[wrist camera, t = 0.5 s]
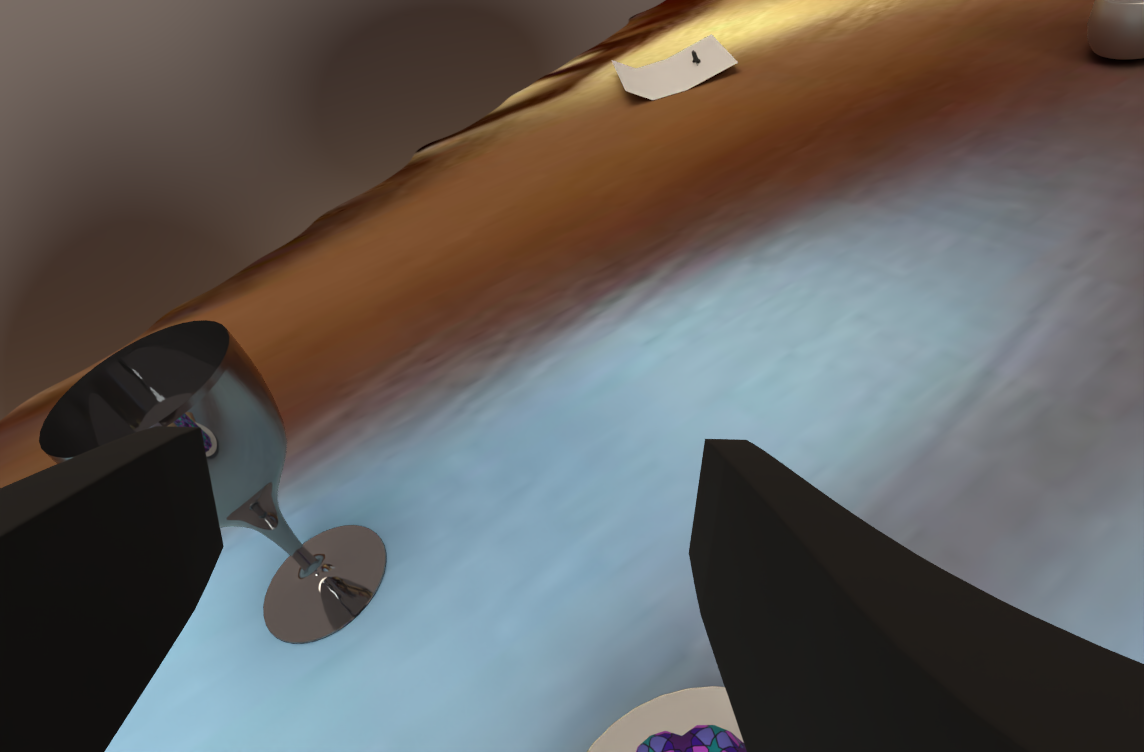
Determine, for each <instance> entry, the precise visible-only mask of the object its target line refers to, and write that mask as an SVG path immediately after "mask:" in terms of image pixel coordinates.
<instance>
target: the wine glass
mask: <svg viewBox="0 0 1144 752" xmlns="http://www.w3.org/2000/svg"><path fill="white" fill-rule="evenodd" d="M155 426H170V427H201V431H202V436H203V442H204V447H205V452H206V457H207V463H208V468H209V473H210V478H211V484H212V489H213V494H214V499H215V504H216V510H217V515H218V520H219V525H220V528H224V527H245V528H249V529H253V530H256V531H258V532H260V533H261V534H263V535H264V536H266V537H267V538H269V539H270V540H272V541H273V542H274V543H276V544H277V545H278V546H280V547H281V548H282V549H283V550H284V551H286V552H287V553H288V554H289V555H290V556H289V557H288V558H287V559H286V560H285V562H284V563H283V564H282V565H281V567H280V568H279V569H278V571H277V572H276V574H275V575H274V577H273V579H272V581H271V583H270V585H269V587H268V590H267V593H266V596H265V601H264V607H263V608H264V619H265V623H266V626H267V628H268V629H269V631H270V633H272V634H273V635H274V636H275V637H276V638H277V639H279V640H281V641H284V642H288V643H293V644H298V643H308V642H313V641H316V640H319V639H322V638H325V637H327V636H329V635H331V634H333V633H334V632H336V631H338V630H340V629H341V628H342V627H344V626H345V625H347V624H348V623H349V622H350V621H352V620H353V619H354V618H355V617H356V616H357V615H358V614H359V613H360V612H361V611H362V610H363V609H364V608H365V607H366V605H367V604H368V603H369V602H370V600H371V599H372V597H373V596H374V594H375V593H376V591H377V589H378V587H379V585H380V583H381V581H382V578H383V575H384V572H385V567H386V550H385V545H384V543H383V541H382V539H381V538H380V537H379V536H378V535H377V533H375V532H374V531H372V530H371V529H369V528H366V527H362V526H356V525H348V526H340V527H336V528H332V529H330V530H327V531H324V532H322V533H320V534H318V535H316V536H314V537H313V538H311V539H310V540H308V541H307V542H305V543H304V544H303V545H302V543H301V542H300V541H299V540H298V538H297V537H296V536H295V534H294V533H293V531H292V530H291V528H290V527H289V526H288V524H287V522H286V521H285V519H284V517H283V516H282V514H281V512H280V509H279V504H278V488H279V483H280V479H281V475H282V471H283V466H284V462H285V457H286V448H287V435H286V430H285V426H284V422H283V419H282V417H281V415H280V412H279V410H278V407H277V405H276V403H275V400H274V398H273V396H272V394H271V392H270V390H269V388H268V386H267V384H266V383H265V381H264V379H263V377H262V375H261V373H260V372H259V371H258V369H257V368H256V366H255V365H254V363H253V362H252V361H251V359H250V358H249V356H248V355H247V353H246V352H245V351H244V349H243V348H242V347H241V346H240V344H239V343H238V342H237V341H236V339H235V338H234V337H233V336H232V334H231V333H230V332H229V331H228V330H227V329H226V328H225V327H224V326H223V325H222V324H219V323H217V322H213V321H206V320H205V321H192V322H187V323H182V324H178V325H175V326H171V327H168V328H165V329H163V330H160V331H157V332H155V333H153V334H150V335H148V336H146V337H144V338H142V339H140V340H138V341H136V342H134V343H132V344H130V345H128V346H127V347H125V348H123V349H121V350H120V351H118V352H117V353H115V354H113V355H112V356H110V357H109V358H107V359H106V360H104V361H103V362H102V363H100V364H99V365H97V366H96V367H95V368H93V369H92V370H91V371H90V372H88V373H87V374H86V375H84V376H83V377H82V378H81V379H80V380H79V381H78V382H77V383H75V384H74V385H73V386H72V387H71V388H70V389H69V390H68V391H67V392H66V393H65V394H64V395H63V396H62V397H61V399H60V400H59V401H58V402H57V403H56V405H55V406H54V407H53V409H52V410H51V411H50V413H49V414H48V416H47V418H46V419H45V421H44V423H43V426H42V428H41V431H40V438H39V442H40V445H41V448H42V449H43V450H44V452H45V453H46V454H47V455H48V456H49V457H50V458H51V459H52V460H53V461H55V462H56V463H57V464H59V463H61V462H64V461H66V460H68V459H71V458H73V457H75V456H78V455H80V454H82V453H85V452H87V451H90V450H92V449H94V448H97V447H99V446H102V445H104V444H107V443H109V442H112V441H114V440H117V439H119V438H122V437H125V436H127V435H130V434H133V433H136V432H139V431H142V430H145V429H148V428H152V427H155Z"/></svg>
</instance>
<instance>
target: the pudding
mask: <svg viewBox="0 0 1144 752" xmlns="http://www.w3.org/2000/svg"><path fill="white" fill-rule="evenodd" d="M587 752H747V751H746V748H745V745H744V742H743V739H742V736H741V733H740V730H739V727H738V724H737V721H736V718H735V715H734V712H733V709H732V706H731V703H730V700H729V697H728V695H727V692H726V689H725V687H716V686H710V687H700V688H689V689H683V690H680V691H676V692H672V693H669V694H665V695H661V696H659V697H657V698H655V699H652V700H650V701H648V702H646V703H644V704H642V705H640V706H638V707H636V708H634V709H633V710H631V711H630V712H629V713H627V714H626V715H624V716H623V717H621V718H620V719H619V720H617V721H616V722H614V723H613V724H612V725H611V726H610V727H609V728H608V729H607V730H606V731H605V732H604V733H603V734H602V735H601V736H600V737H599V738H598V739H597V740H596V741H595V742H594V743H593V744H592V746H591V747H590V748H589V750H588V751H587Z"/></svg>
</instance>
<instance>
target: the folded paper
mask: <svg viewBox="0 0 1144 752" xmlns="http://www.w3.org/2000/svg"><path fill="white" fill-rule="evenodd" d="M612 62H613V65H614V67H615V69H616V71H617V73H618V76H619V78H620V80H621V82H622V84H623V87H624V89H625V91H627V92H630V93H633V94H636V95H639V96H642V97H645V98H647V99H650V100H656V99H659V98H662V97H666V96H669V95H672V94H676V93H679V92H682V91H686V90H688V89H690V88H692V87H694V86H695V85H697V84H699V83H701V82H703V81H705V80H707V79H708V78H710V77H712V76H714V75H716V74H718V73H720V72H722V71H723V70H725V69H727V68H729V67H731V66H733V65H735V64H736V63H738V62H737V61H736V60H735V59H734V58H733V56H732V55H731V54H730V53H729V52H728V51H727V50H726V49H725V48H724V47H723V46H722V45H721V44H720V43H719V42H718V41H717V40H716V39H715V37H714V36H713V35H712V34H711V35H709V36H707V37H705V38H704V39H702V40H700V41H698V42H696V43H694V44H693V45H691V46H689V47H687V48H685V49H684V50H682V51H680V52H678V53H676V54H675V55H673V56H671V57H669V58H667V59H665V60H662V61H659V62H655V63H652V64H649V65H646V66H642V67H639V68H633V67H630V66H627V65H624V64H622V63H619V62H616V61H613V60H612Z"/></svg>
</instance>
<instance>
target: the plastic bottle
mask: <svg viewBox="0 0 1144 752" xmlns="http://www.w3.org/2000/svg"><path fill="white" fill-rule="evenodd" d="M1088 43H1089V45H1090V47H1091V48H1092V50H1093V52H1094V53H1095V54H1097V55H1099V56H1102V57H1105V58H1110V59H1140V58H1144V0H1095V2H1094V5H1093V8H1092V11H1091V14H1090V17H1089V20H1088Z"/></svg>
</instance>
